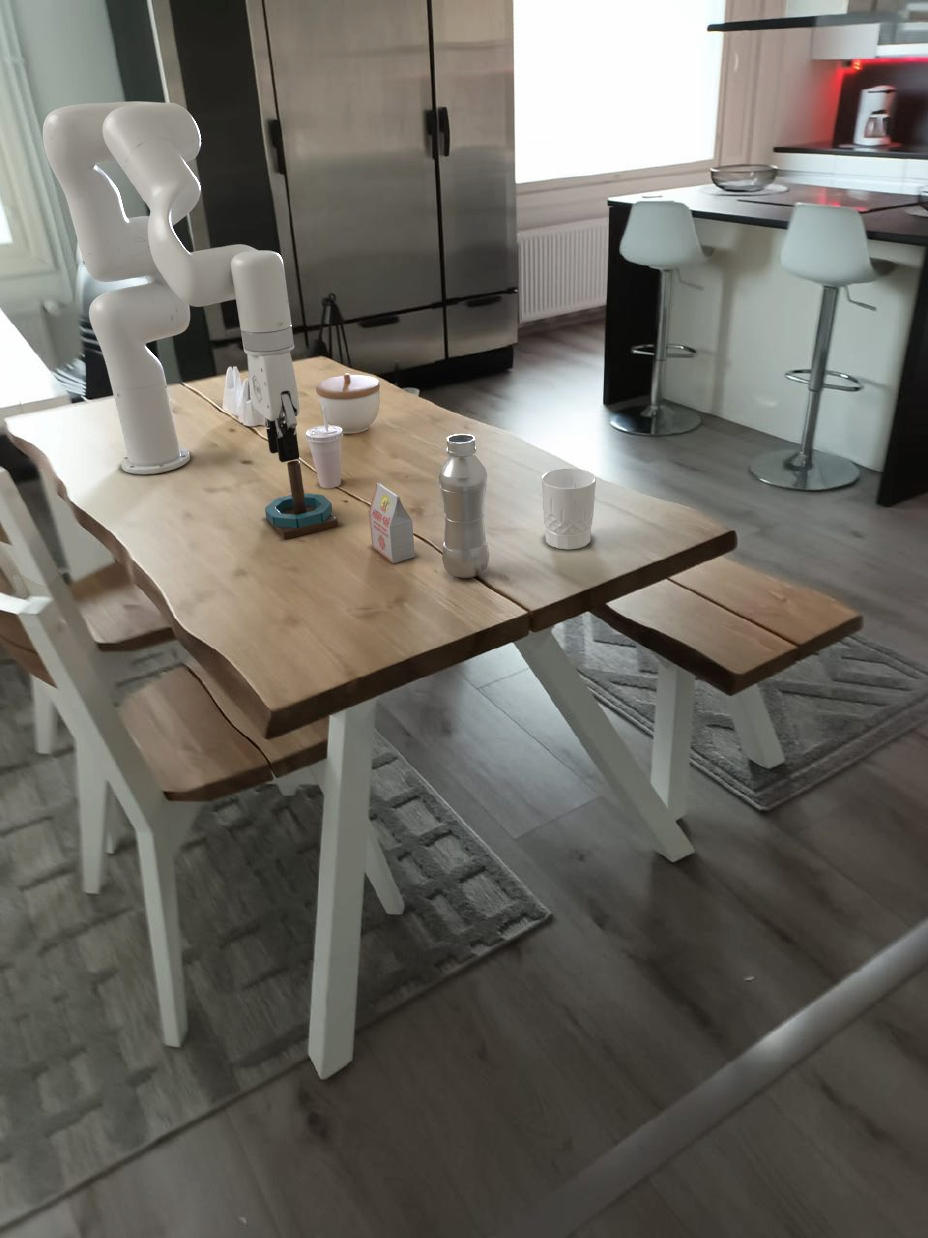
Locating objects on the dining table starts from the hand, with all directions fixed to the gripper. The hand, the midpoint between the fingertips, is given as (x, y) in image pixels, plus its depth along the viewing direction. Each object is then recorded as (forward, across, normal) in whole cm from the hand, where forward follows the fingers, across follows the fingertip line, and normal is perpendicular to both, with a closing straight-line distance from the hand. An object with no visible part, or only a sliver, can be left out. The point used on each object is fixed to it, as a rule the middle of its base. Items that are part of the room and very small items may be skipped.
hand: (284, 454), depth 151 cm
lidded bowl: (+10, -35, +25) cm, 44 cm away
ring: (+9, +4, 0) cm, 10 cm away
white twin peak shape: (+10, -53, +8) cm, 54 cm away
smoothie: (+10, -9, +10) cm, 17 cm away
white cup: (+10, +33, +32) cm, 47 cm away
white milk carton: (+10, +22, +8) cm, 26 cm away
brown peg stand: (+10, +4, 0) cm, 11 cm away
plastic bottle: (+10, +34, +14) cm, 38 cm away
